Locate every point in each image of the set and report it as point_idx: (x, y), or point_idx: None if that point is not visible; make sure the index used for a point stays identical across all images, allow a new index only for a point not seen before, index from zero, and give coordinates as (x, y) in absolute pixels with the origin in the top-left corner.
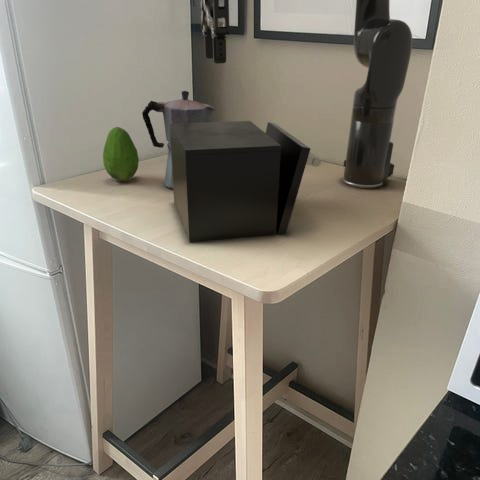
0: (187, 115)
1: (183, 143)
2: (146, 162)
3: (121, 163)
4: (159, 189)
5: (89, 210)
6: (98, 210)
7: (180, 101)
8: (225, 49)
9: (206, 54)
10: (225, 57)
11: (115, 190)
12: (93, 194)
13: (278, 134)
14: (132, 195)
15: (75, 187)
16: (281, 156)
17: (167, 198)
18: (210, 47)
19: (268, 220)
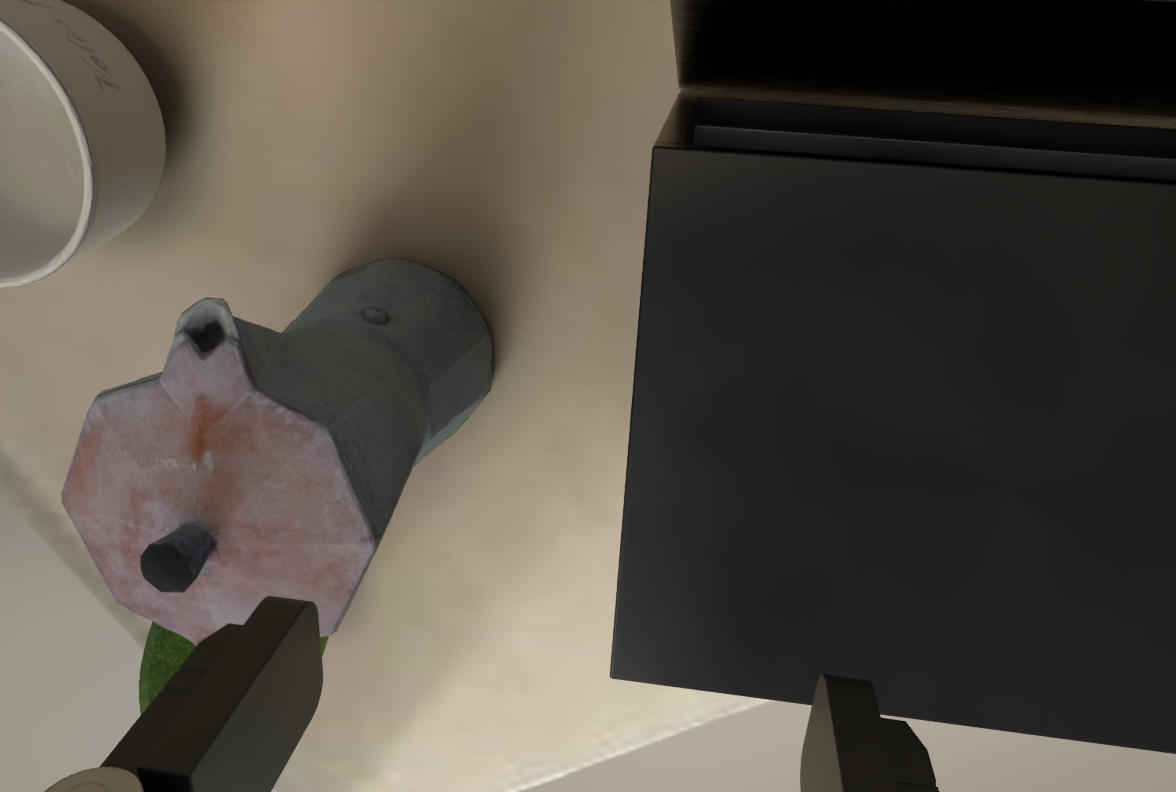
0: (386, 527)
1: (1148, 741)
2: (19, 431)
3: (322, 641)
4: (434, 462)
5: (620, 726)
6: (628, 702)
7: (235, 575)
8: (894, 788)
9: (306, 718)
10: (876, 717)
11: (414, 618)
12: (447, 691)
13: (1005, 2)
14: (490, 573)
15: (353, 731)
16: (1145, 41)
17: (561, 457)
18: (271, 735)
19: None
